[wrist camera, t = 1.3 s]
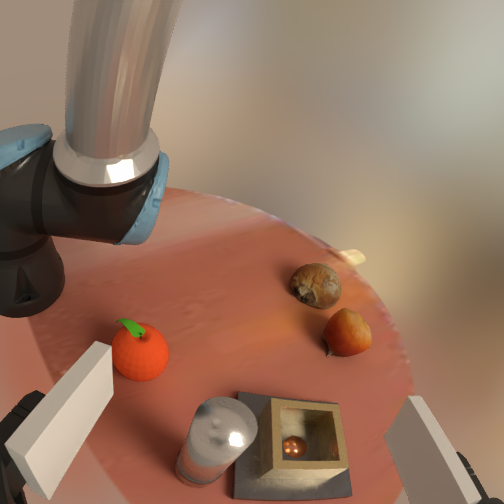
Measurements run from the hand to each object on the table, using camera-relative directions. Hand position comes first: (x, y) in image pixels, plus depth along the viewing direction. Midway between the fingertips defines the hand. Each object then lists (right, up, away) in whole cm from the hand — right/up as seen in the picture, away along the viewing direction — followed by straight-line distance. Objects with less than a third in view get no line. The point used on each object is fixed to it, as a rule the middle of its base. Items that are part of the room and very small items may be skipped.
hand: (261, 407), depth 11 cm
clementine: (-15, -8, +23) cm, 28 cm away
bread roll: (+11, -2, +47) cm, 49 cm away
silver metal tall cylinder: (-6, -16, +14) cm, 23 cm away
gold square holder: (+4, -17, +19) cm, 26 cm away
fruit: (+14, -10, +37) cm, 40 cm away
